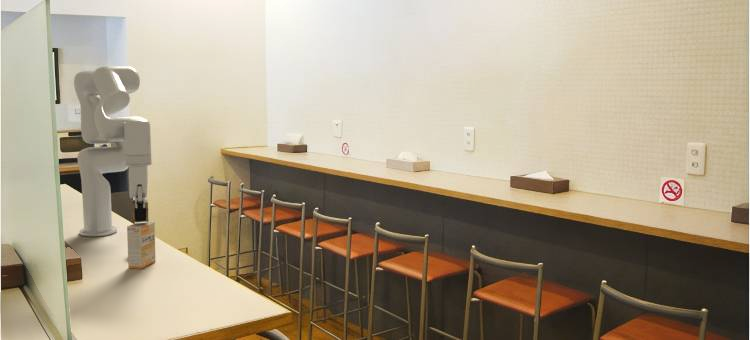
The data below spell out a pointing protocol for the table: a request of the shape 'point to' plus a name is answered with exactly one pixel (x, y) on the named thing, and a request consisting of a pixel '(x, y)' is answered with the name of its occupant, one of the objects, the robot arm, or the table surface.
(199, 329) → the table surface
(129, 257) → the supplement box
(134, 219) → the walnut block
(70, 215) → the table surface
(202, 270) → the table surface
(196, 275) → the table surface
